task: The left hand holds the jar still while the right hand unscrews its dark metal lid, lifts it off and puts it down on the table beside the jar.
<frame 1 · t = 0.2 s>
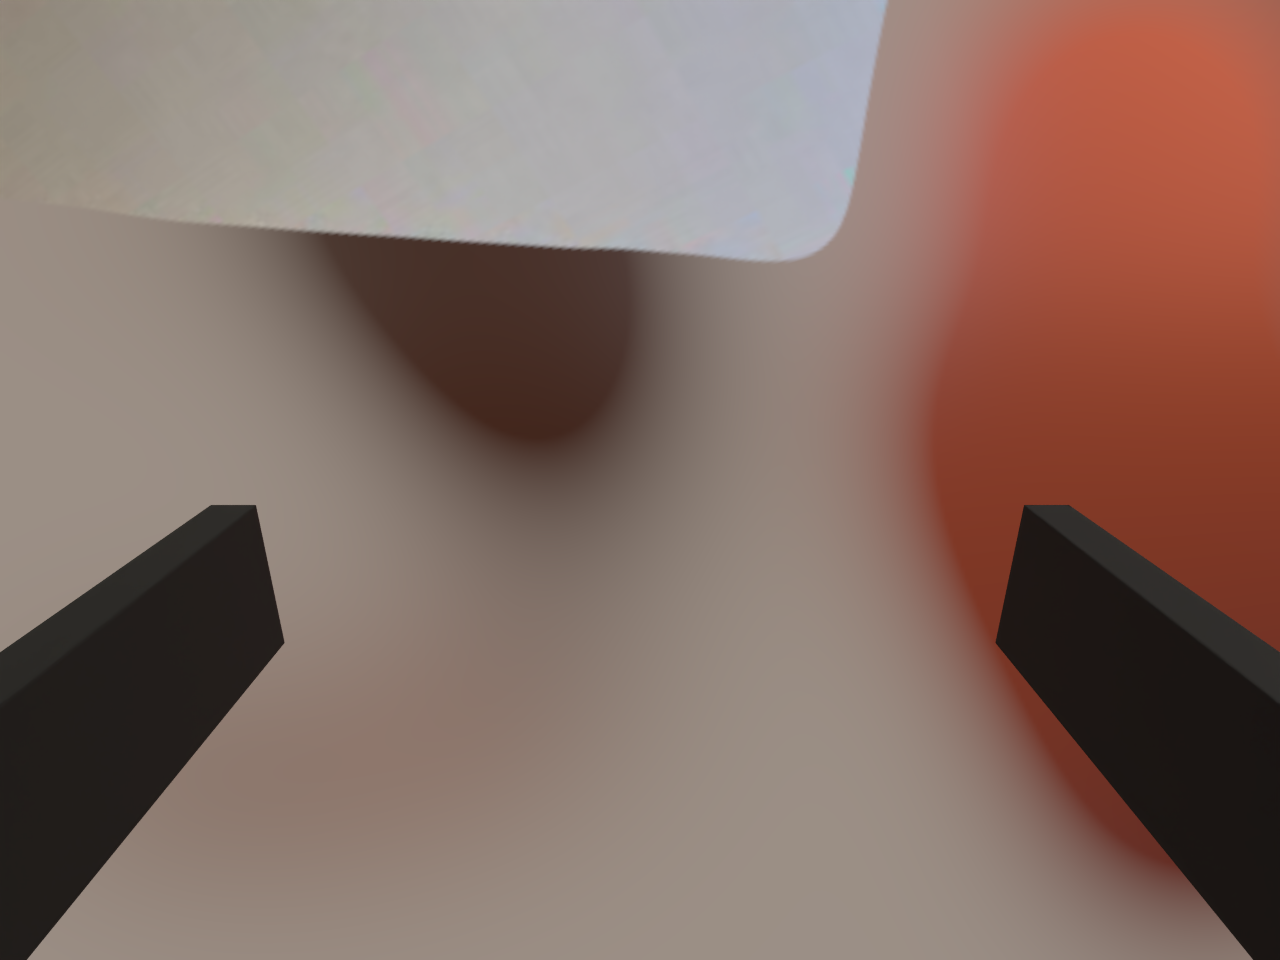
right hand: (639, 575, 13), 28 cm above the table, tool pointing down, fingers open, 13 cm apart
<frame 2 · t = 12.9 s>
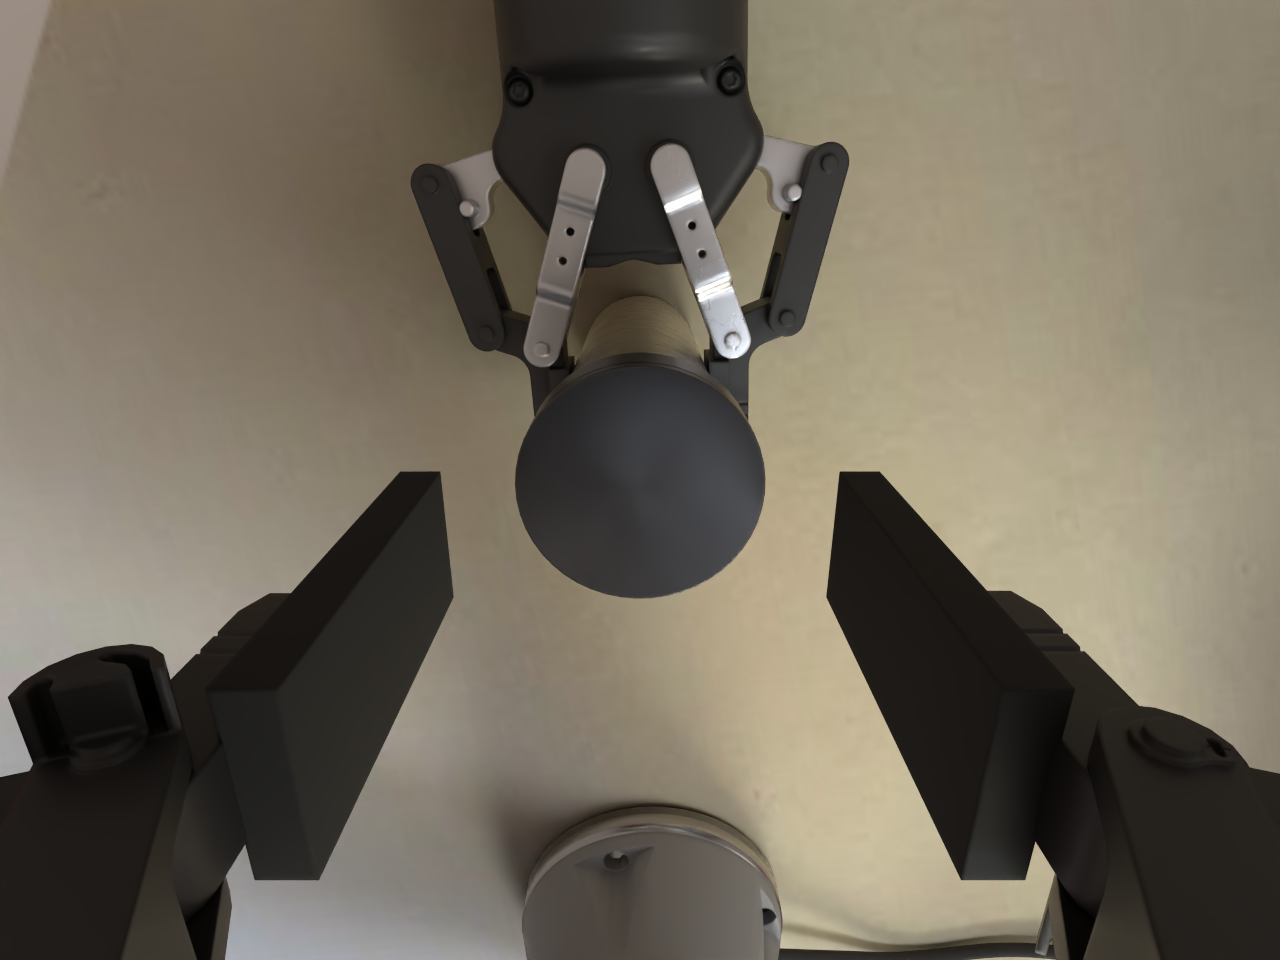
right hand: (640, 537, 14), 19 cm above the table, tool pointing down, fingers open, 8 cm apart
left hand: (642, 455, 27), fingers closed on jar, 5 cm apart
lid: (640, 484, 17), point 16 cm above the table, screwed on, not yet turned
jar: (640, 350, 32), on the table, touching left hand
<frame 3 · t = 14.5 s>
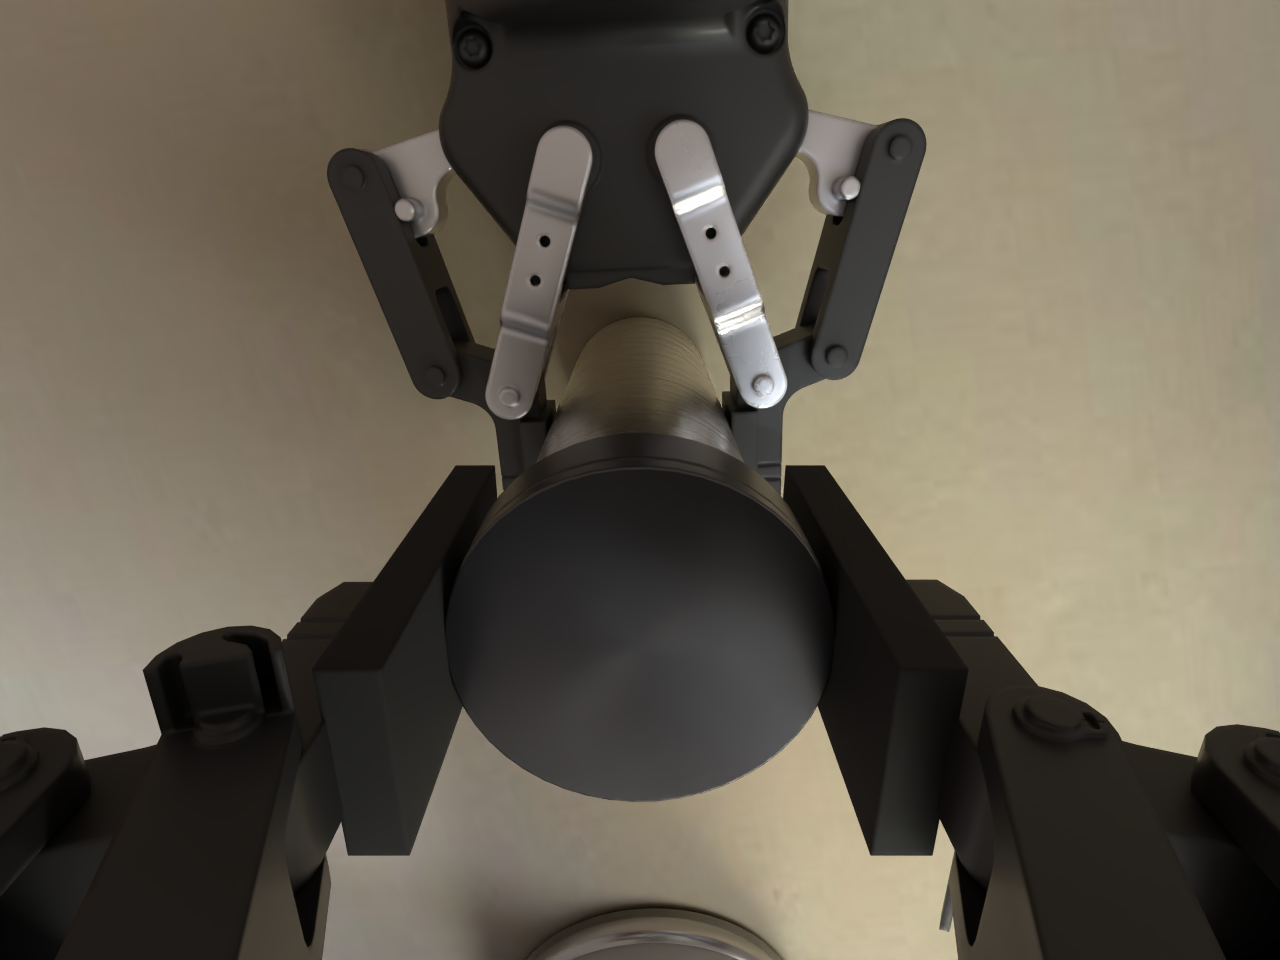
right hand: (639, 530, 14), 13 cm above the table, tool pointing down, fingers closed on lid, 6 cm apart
left hand: (643, 527, 21), fingers closed on jar, 5 cm apart
lid: (640, 637, 11), point 16 cm above the table, screwed on, not yet turned, touching right hand
jar: (640, 384, 26), on the table, touching left hand
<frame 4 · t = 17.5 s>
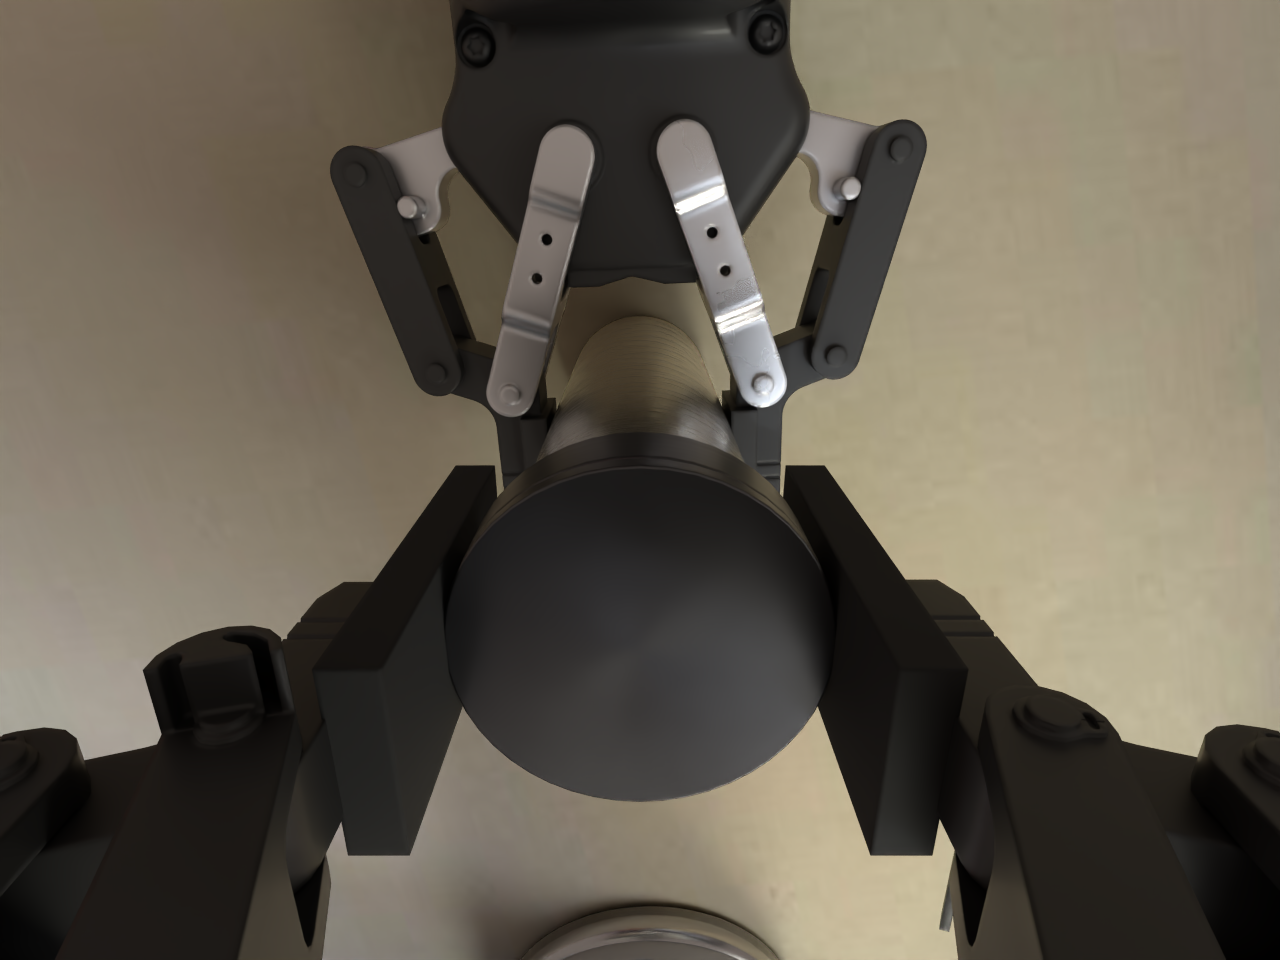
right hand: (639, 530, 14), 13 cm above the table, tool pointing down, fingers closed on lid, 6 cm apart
left hand: (642, 525, 21), fingers closed on jar, 5 cm apart
lid: (640, 637, 11), point 16 cm above the table, turned 93° so far, risen 0.1 cm, still on its thread, touching right hand
jar: (640, 382, 26), on the table, touching left hand
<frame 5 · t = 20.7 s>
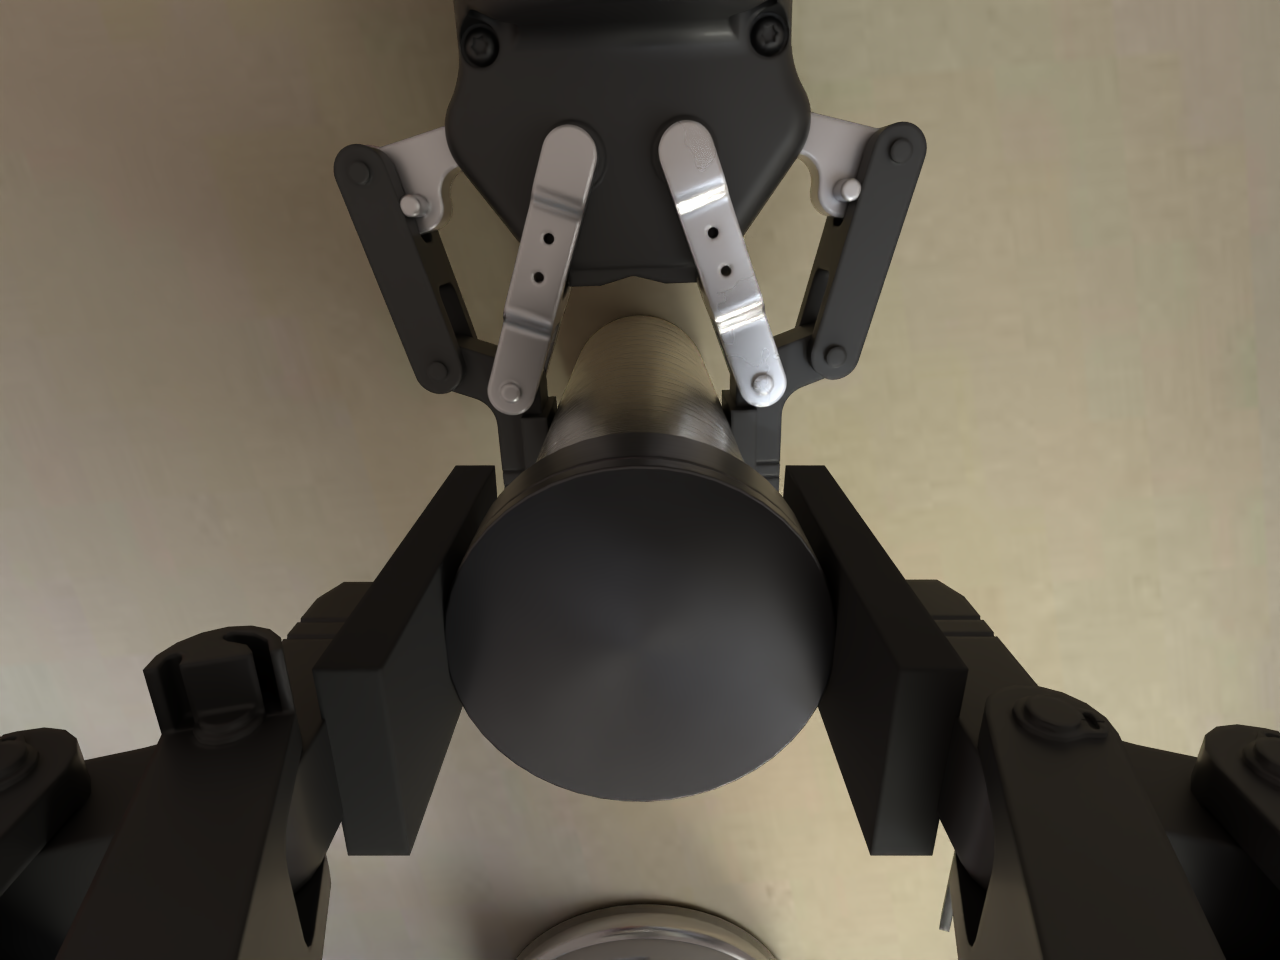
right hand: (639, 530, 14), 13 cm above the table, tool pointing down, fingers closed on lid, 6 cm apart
left hand: (642, 523, 21), fingers closed on jar, 5 cm apart
lid: (640, 637, 11), point 17 cm above the table, turned 185° so far, risen 0.2 cm, still on its thread, touching right hand
jar: (640, 382, 26), on the table, touching left hand
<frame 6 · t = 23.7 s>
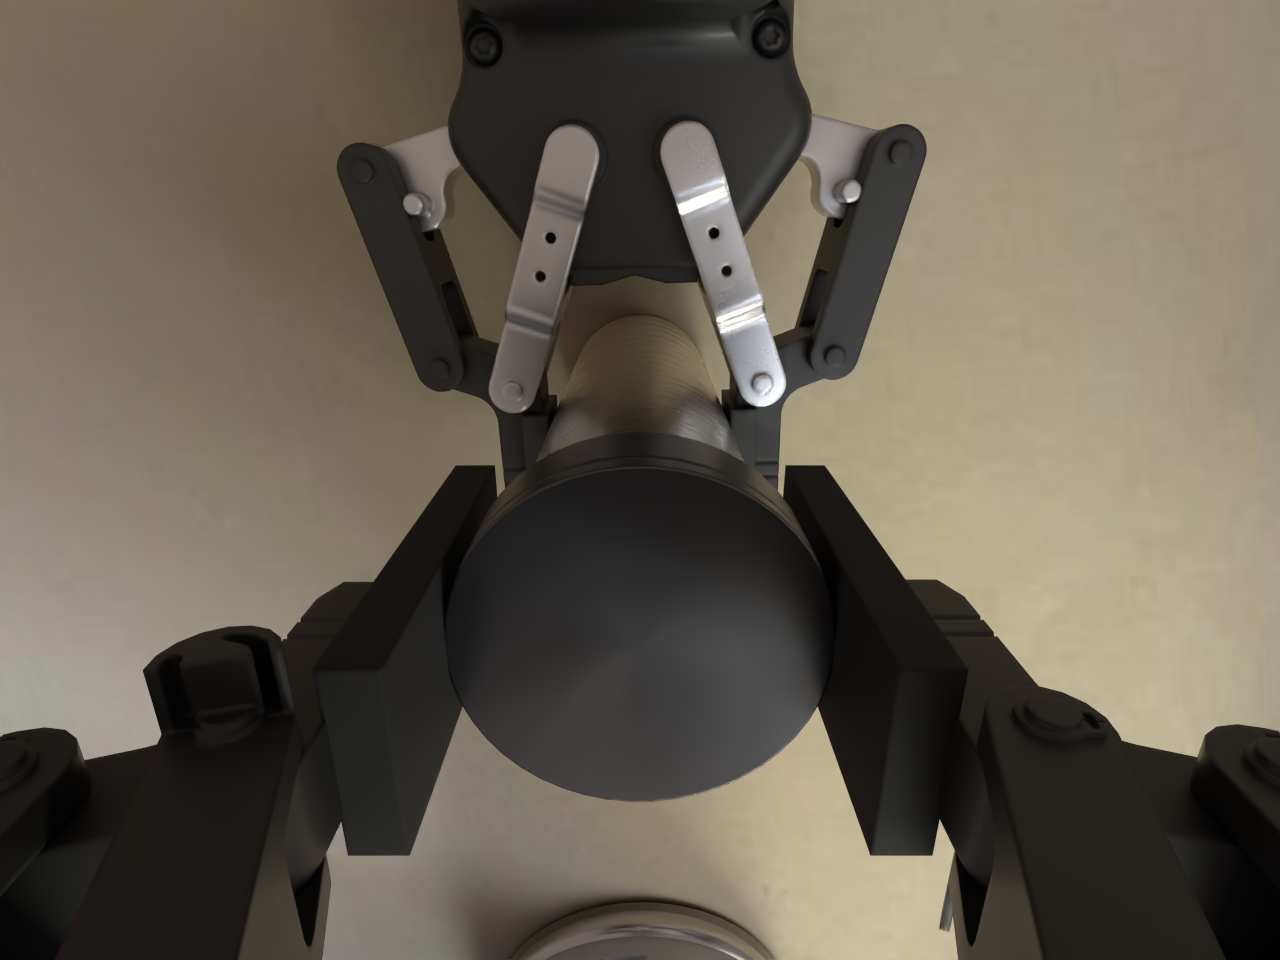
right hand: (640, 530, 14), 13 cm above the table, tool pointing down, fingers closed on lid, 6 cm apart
left hand: (641, 522, 21), fingers closed on jar, 5 cm apart
lid: (640, 637, 11), point 17 cm above the table, turned 278° so far, risen 0.3 cm, still on its thread, touching right hand
jar: (640, 381, 26), on the table, touching left hand
when the right hand's fingers open (0 cm above the table, at t = 29.7 s): lid drops 3 cm, point 1 cm above the table.
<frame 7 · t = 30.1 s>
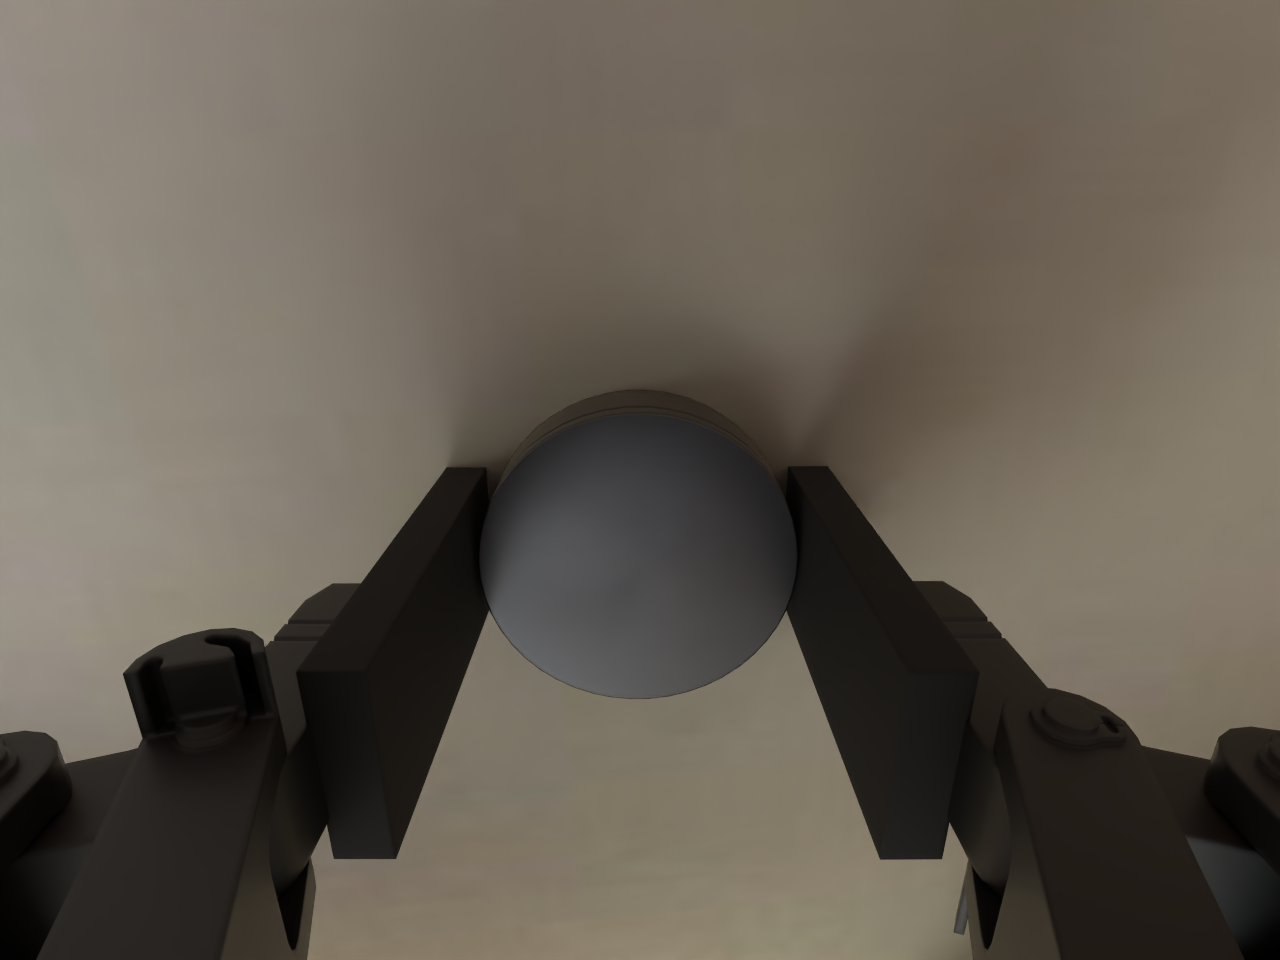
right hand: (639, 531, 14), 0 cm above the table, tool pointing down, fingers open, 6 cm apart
lid: (638, 558, 13), point 1 cm above the table, off its thread
when the left hand's fingers open (7 cm above the table, at t = 31.6 s): jar stays where it is, on the table.
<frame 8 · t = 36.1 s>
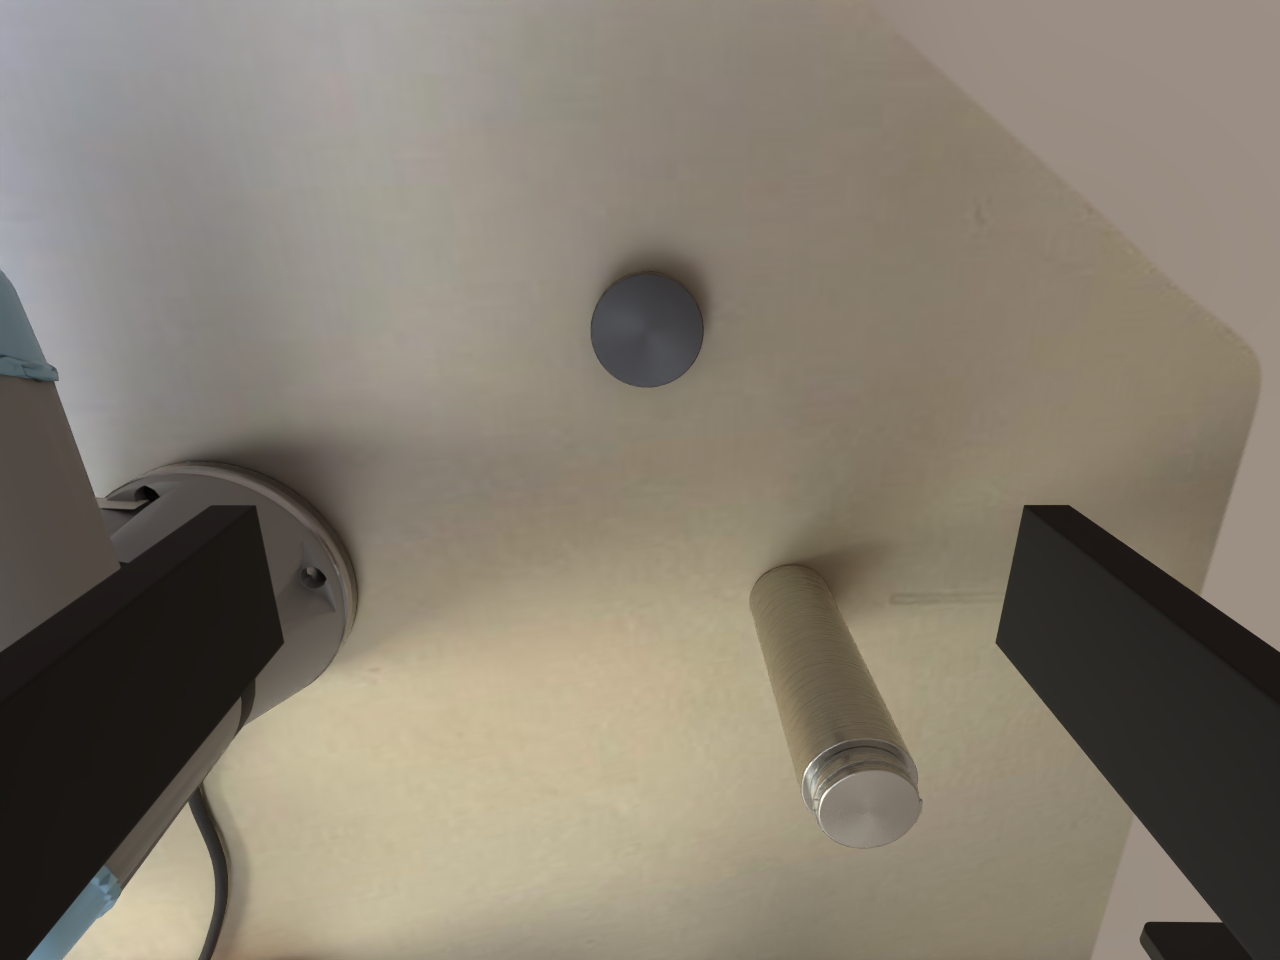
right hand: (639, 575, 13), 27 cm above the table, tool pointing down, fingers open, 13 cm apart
lid: (647, 331, 36), point 1 cm above the table, off its thread
jar: (789, 599, 43), on the table
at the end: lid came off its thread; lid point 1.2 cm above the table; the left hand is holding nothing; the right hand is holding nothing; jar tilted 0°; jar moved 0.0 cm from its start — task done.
